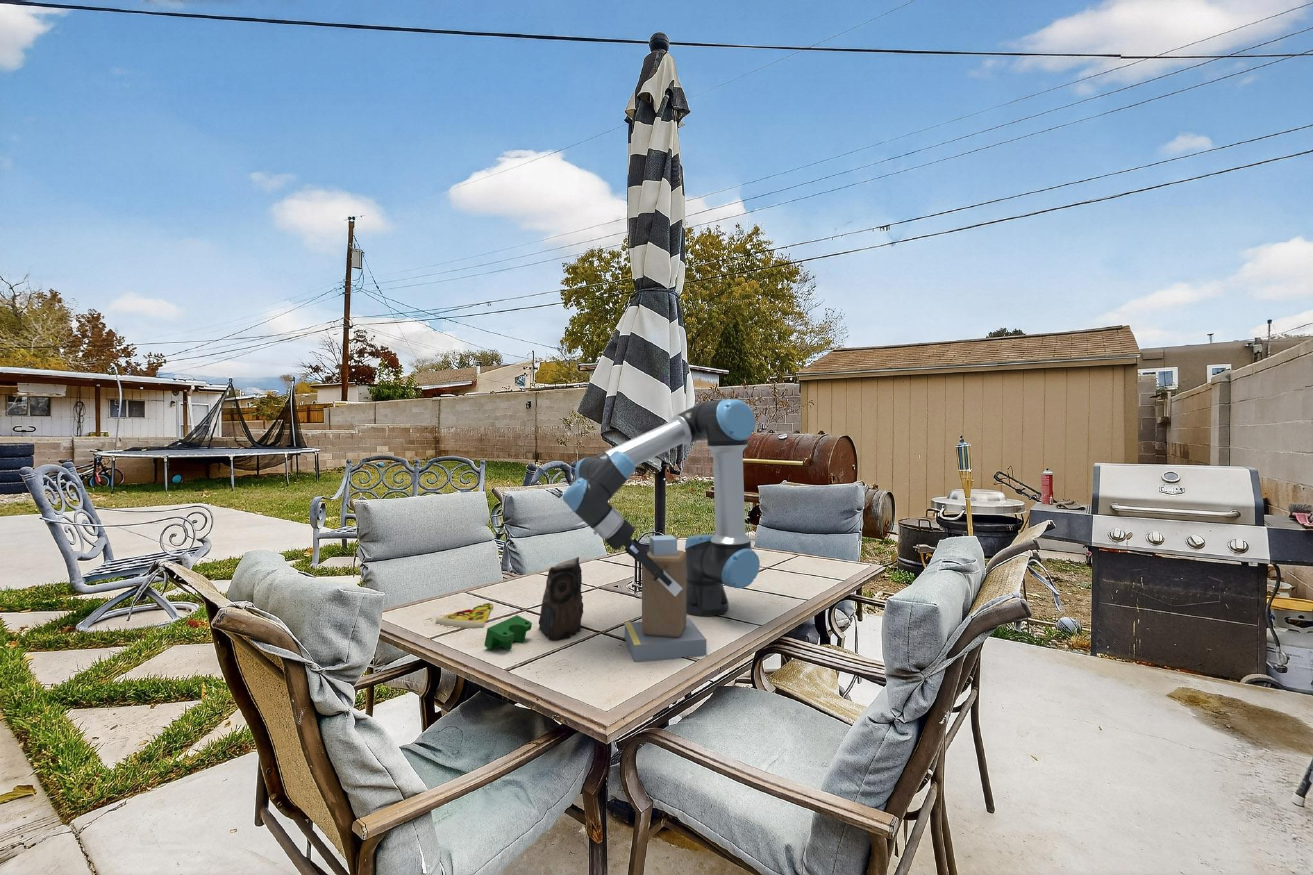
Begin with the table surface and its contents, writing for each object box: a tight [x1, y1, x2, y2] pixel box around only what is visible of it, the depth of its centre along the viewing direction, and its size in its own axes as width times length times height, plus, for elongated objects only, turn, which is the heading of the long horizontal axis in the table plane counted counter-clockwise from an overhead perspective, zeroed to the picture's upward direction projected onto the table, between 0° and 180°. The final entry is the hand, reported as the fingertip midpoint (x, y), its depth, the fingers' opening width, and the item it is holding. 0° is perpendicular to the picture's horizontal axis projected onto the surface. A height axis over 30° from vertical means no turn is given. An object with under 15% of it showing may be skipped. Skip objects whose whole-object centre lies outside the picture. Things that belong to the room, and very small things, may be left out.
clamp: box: [483, 614, 533, 651], centre depth 141 cm, size 12×6×9 cm, turn 148°
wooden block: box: [641, 549, 687, 637], centre depth 139 cm, size 10×10×20 cm
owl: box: [538, 556, 584, 642], centre depth 149 cm, size 13×13×20 cm
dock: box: [624, 617, 707, 663], centre depth 139 cm, size 18×16×4 cm
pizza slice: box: [435, 602, 494, 629], centre depth 164 cm, size 16×21×3 cm
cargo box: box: [649, 534, 678, 556], centre depth 139 cm, size 6×6×4 cm
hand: (672, 584), depth 140 cm, fingers open, 13 cm apart
